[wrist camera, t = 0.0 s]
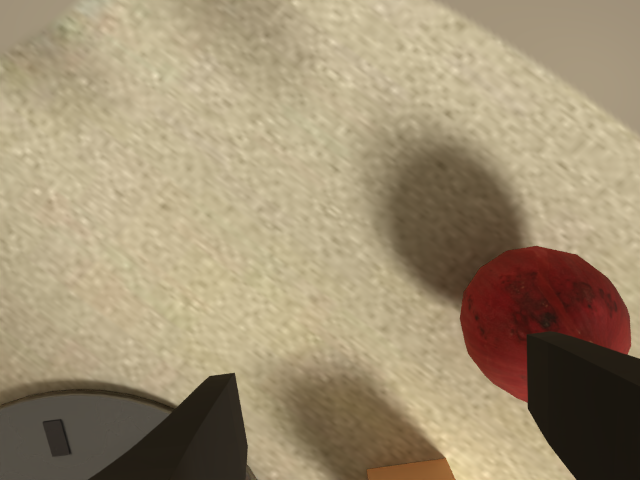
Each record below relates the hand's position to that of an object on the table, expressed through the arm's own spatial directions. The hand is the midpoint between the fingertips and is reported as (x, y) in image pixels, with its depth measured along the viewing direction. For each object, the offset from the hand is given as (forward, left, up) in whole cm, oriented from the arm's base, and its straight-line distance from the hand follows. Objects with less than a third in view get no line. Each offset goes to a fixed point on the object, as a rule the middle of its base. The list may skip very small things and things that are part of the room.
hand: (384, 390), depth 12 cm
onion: (-2, -7, -10) cm, 13 cm away
